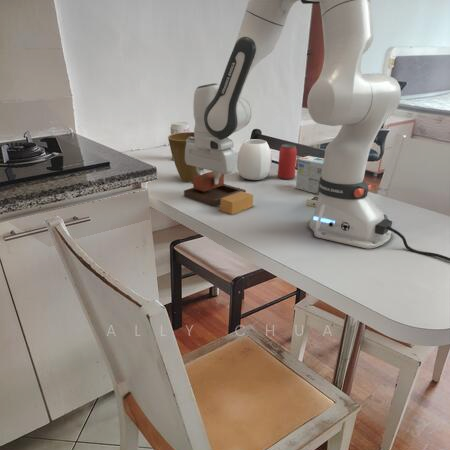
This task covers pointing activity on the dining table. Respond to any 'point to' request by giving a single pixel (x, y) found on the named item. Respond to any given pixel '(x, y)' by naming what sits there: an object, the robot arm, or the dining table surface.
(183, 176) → the plant pot
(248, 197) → the orange rectangular block
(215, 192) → the dark brown square tray
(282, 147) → the beer can
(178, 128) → the supplement can
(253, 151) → the white faceted vase
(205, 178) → the reddish brown rectangular block
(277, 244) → the dining table surface
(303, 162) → the light bulb box
